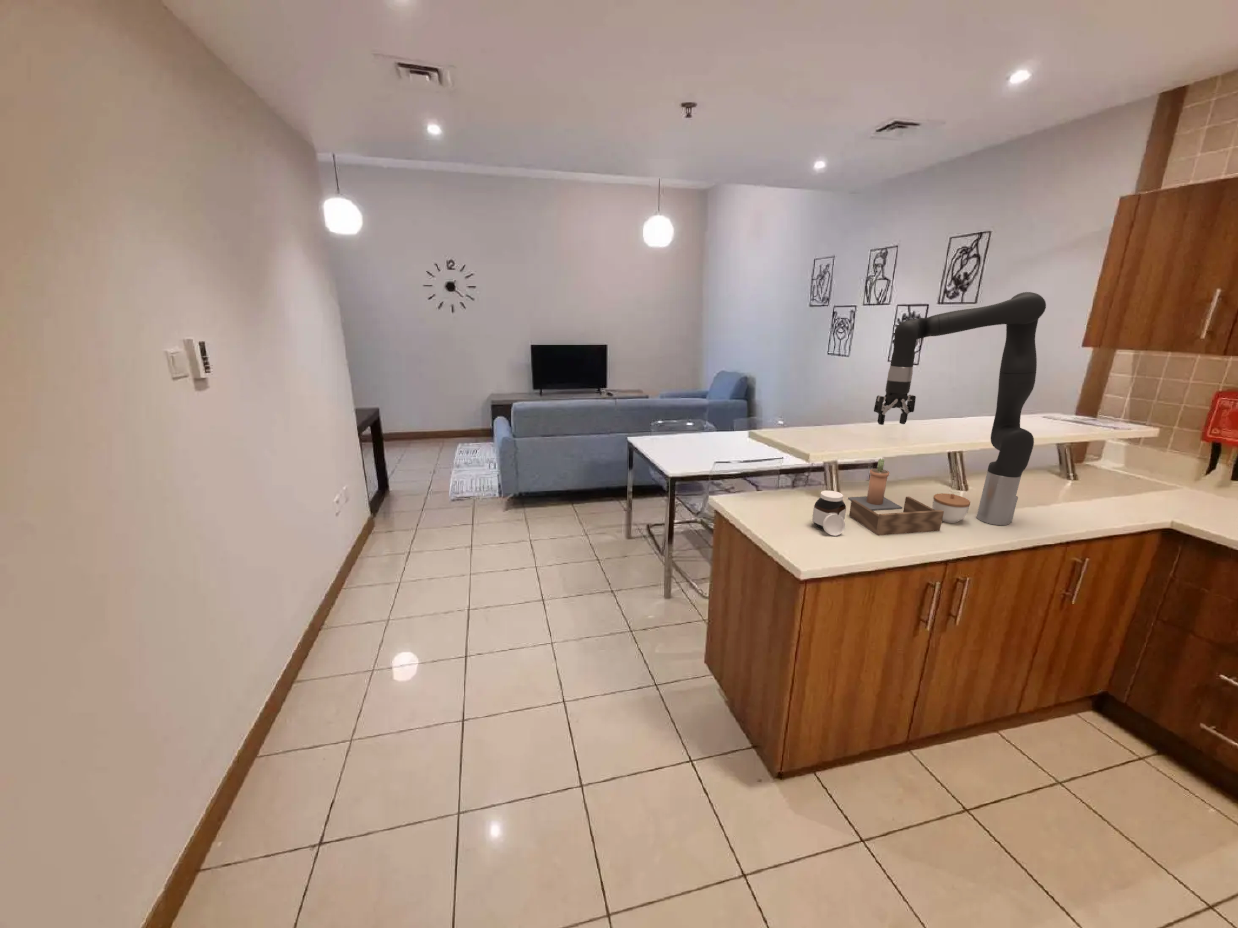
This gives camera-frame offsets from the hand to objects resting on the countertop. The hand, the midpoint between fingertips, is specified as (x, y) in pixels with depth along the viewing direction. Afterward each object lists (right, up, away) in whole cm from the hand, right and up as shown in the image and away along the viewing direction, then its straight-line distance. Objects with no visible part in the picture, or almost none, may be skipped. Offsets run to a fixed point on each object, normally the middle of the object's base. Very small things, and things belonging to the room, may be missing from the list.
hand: (891, 424), depth 181 cm
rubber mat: (-3, -29, +7) cm, 30 cm away
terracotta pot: (-3, -29, +7) cm, 30 cm away
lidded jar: (+16, -34, -7) cm, 38 cm away
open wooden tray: (-5, -35, -10) cm, 36 cm away
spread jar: (-29, -36, -14) cm, 48 cm away
